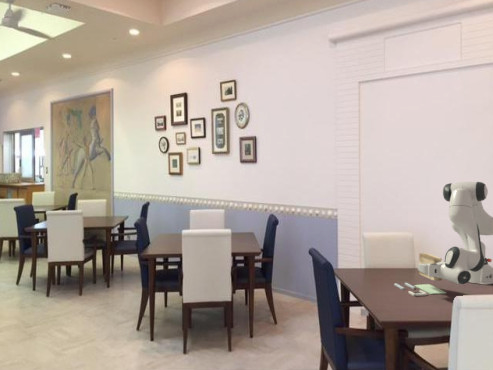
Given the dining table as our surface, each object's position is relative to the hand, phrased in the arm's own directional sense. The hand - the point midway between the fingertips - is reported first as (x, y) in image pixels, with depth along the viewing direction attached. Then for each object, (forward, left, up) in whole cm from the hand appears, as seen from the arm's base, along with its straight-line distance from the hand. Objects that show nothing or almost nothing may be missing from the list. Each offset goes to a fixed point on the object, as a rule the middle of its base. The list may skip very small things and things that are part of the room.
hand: (429, 264), depth 233 cm
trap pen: (+11, +6, -14) cm, 19 cm away
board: (0, +1, -7) cm, 7 cm away
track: (+11, -7, -14) cm, 19 cm away
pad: (0, +1, -14) cm, 14 cm away
